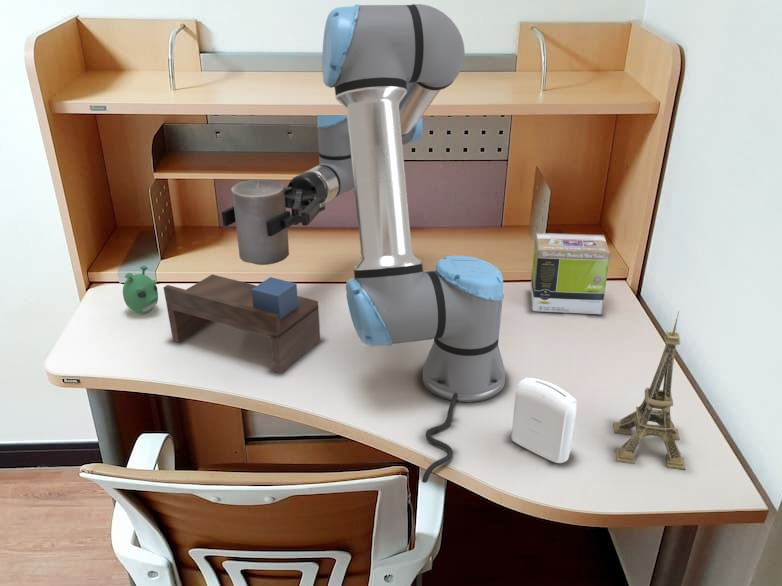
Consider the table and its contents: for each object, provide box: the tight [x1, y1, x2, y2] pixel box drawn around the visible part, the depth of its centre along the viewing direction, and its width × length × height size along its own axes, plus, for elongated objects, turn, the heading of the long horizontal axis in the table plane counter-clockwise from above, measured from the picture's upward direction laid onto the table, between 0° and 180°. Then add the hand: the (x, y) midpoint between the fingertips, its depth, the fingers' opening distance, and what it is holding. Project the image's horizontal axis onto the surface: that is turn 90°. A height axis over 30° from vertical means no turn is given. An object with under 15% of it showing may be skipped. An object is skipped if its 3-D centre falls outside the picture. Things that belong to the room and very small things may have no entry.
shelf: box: [163, 274, 321, 374], centre depth 149 cm, size 26×14×12 cm, turn 63°
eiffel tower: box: [613, 310, 687, 471], centre depth 118 cm, size 11×11×25 cm
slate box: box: [252, 276, 298, 320], centre depth 143 cm, size 6×6×5 cm
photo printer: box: [511, 377, 578, 464], centre depth 121 cm, size 10×4×12 cm, turn 47°
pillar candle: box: [230, 178, 290, 266], centre depth 145 cm, size 10×10×15 cm
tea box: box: [530, 232, 611, 315], centre depth 164 cm, size 15×10×15 cm
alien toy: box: [122, 264, 159, 315], centre depth 159 cm, size 7×8×10 cm
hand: (246, 224), depth 141 cm, fingers closed on pillar candle, 10 cm apart
